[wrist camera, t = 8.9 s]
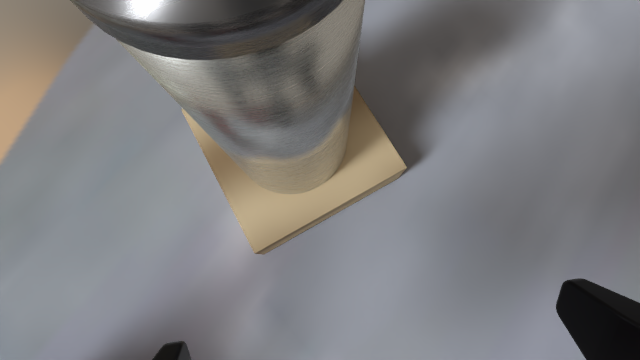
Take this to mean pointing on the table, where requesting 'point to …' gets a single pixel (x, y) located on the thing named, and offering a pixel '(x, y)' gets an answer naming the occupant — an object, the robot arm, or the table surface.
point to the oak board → (315, 205)
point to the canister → (252, 75)
